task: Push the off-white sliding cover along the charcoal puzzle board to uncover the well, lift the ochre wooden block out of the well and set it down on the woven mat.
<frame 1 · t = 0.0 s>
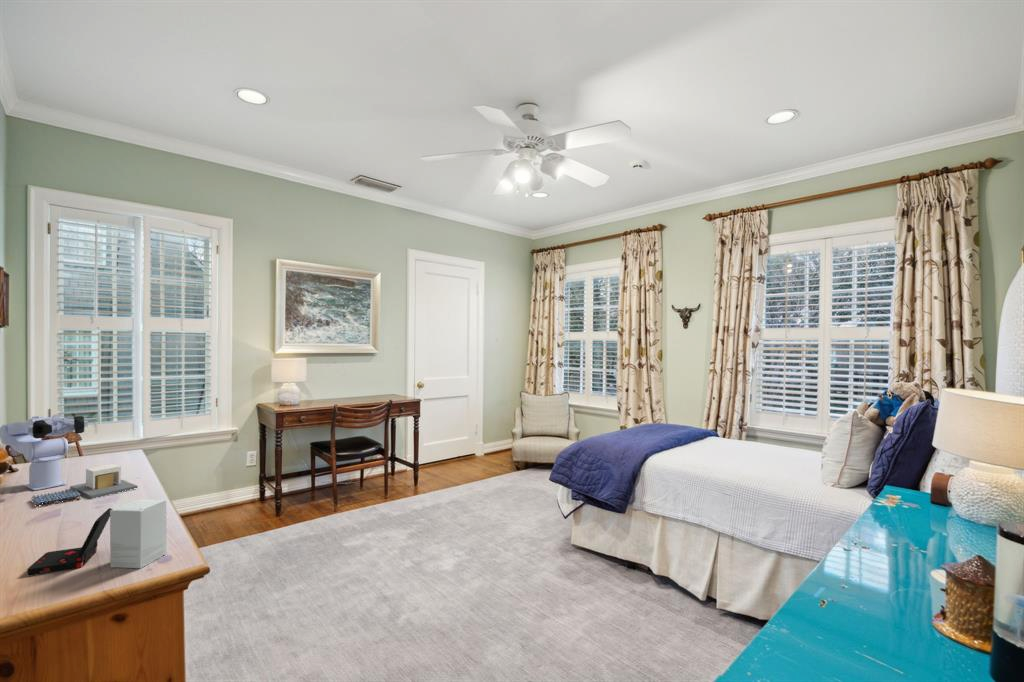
hand: (67, 427, 149), 22 cm above the dresser, tool horizontal, fingers open, 7 cm apart
handheld gaming console: (72, 562, 106), on the dresser
woven mat: (56, 502, 146), on the dresser
puzzle board: (103, 488, 156), on the dresser
ochre block: (103, 489, 157), resting in puzzle board
supplement box: (139, 561, 106), on the dresser
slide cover: (103, 476, 157), point 4 cm above the dresser, slide at 0.0 cm
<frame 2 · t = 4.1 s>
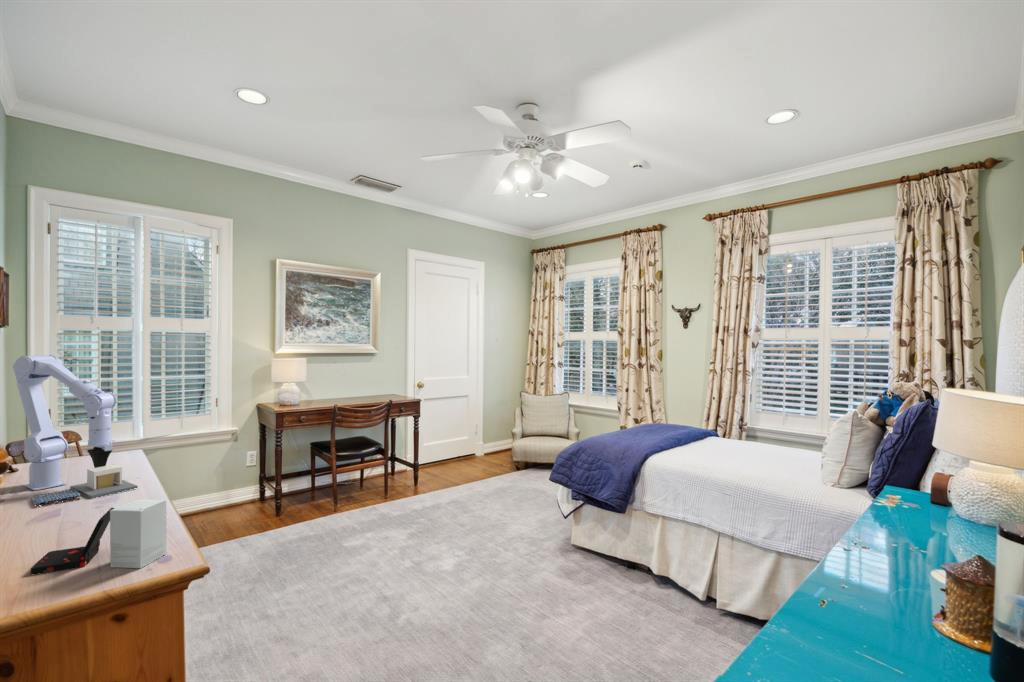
hand: (100, 469, 158), 6 cm above the dresser, tool pointing down, fingers closed
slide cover: (104, 476, 156), point 4 cm above the dresser, slide at 1.1 cm, touching gripper
everything else where it was.
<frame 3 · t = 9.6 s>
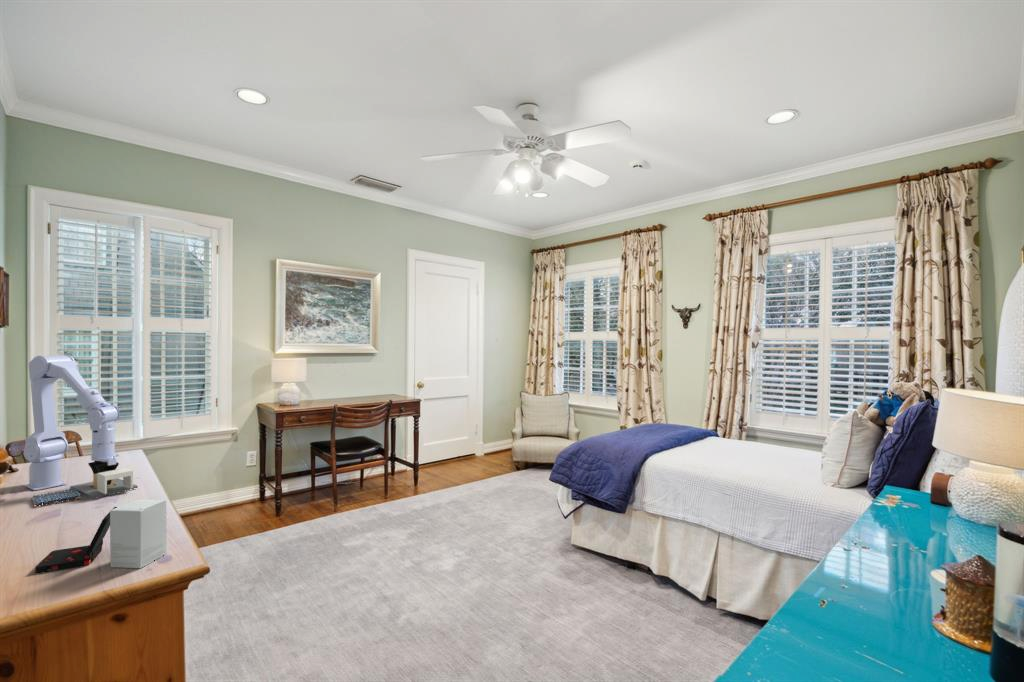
hand: (103, 483, 157), 2 cm above the dresser, tool pointing down, fingers closed on ochre block, 4 cm apart
ochre block: (103, 488, 157), resting in puzzle board, touching gripper
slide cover: (115, 480, 152), point 4 cm above the dresser, slide at 9.5 cm
when the fingers open (5 cm above the dresser, at t = 12.8 s): ochre block drops 2 cm, resting on woven mat.
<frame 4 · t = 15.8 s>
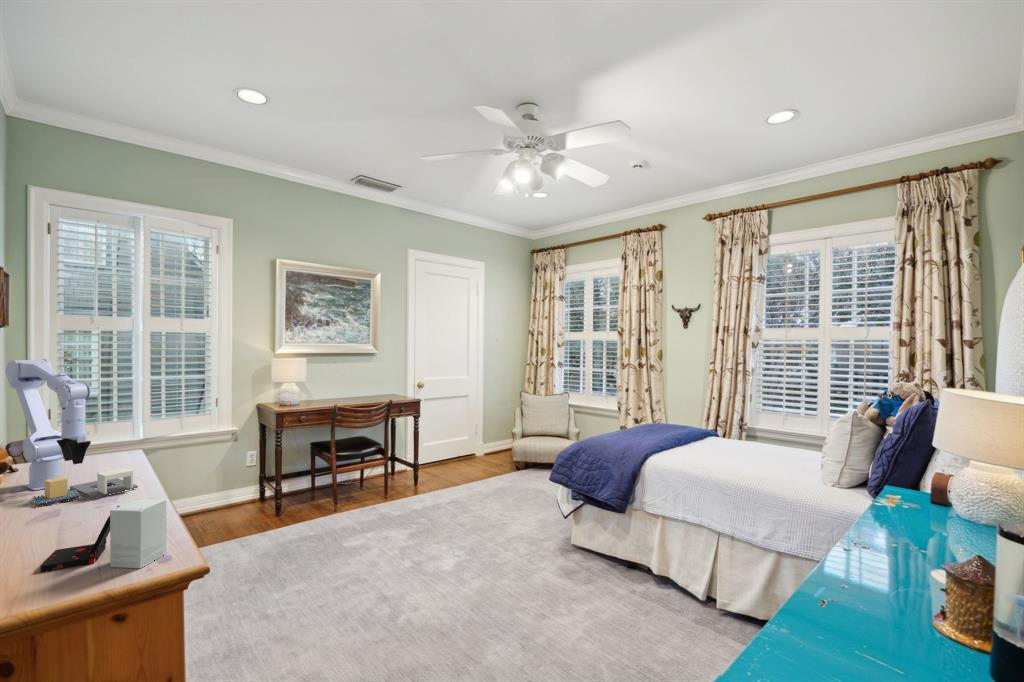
hand: (73, 461, 154), 9 cm above the dresser, tool pointing down, fingers open, 7 cm apart
woven mat: (56, 502, 146), on the dresser, touching ochre block
ochre block: (56, 495, 145), point 1 cm above the dresser, touching woven mat
at the end: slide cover slide at 9.5 cm; ochre block inside the target area on the woven mat (0.1 cm from its centre), point 2.2 cm above the woven mat's base; ochre block tilted 0° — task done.
